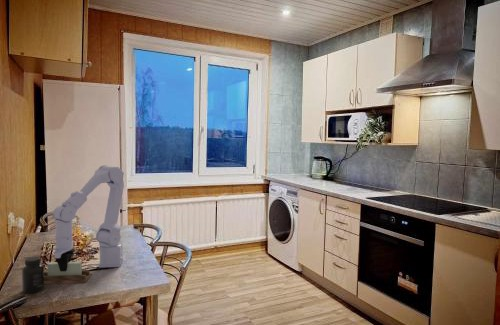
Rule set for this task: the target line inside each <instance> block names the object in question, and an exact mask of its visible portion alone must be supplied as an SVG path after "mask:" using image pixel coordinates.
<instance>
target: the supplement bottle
mask: <svg viewBox="0 0 500 325" xmlns="http://www.w3.org/2000/svg"><path fill="white" fill-rule="evenodd" d="M41 262H42V261H41V257H40V256H31V257H27V258H26V259H25V260H24V265H25V266H24V267H23V268H22V270H21V280H22V282H21V283H22V284H21V286H22V288H21V290H22V292H23V293H24V294H26V295H27V294H28V295H30V294H31V295H32V294H33V295H34V294H36V293H39V292H41V291H43V289H44V288H45V284H44V272H45V267H44V265H43V263H41Z"/></svg>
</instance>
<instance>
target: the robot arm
mask: <svg viewBox="0 0 500 325" xmlns="http://www.w3.org/2000/svg"><path fill="white" fill-rule="evenodd" d="M124 174H125V173H124V172H123V170H122V169H121V168H120V167H118V166H108V165H100V166H99V168H98V169H96V170H95V172H94V174H93V175H92V177H91V178H90V179H89V180H88V181H87V183H85V184H84V186H83V187H81V189H80V190H75V191H73V192H72V193H71V194H70V196H68V198H67V199H66V200H65V201H63V202H62V203H61V205H59V206H57V207H55V208H54V209H53V213H51V217H52V218H53V219H54V222H55V246H54V247H53V248H52V250H53V251H55V252H54V254H53V258H54V260H55V262H57V263H58V265H59V269H60V271H66V270H67V265H68V262H72V261H71V260H72V257H73V254H74V253H75V249H74V241H73V220H74V219H75V218H76V213H77V211H79V209H80V208H82V206H83V205H84V204H85V203H86V202H87V200H88V198H87V197H89V195H90V194H91V193H92V192H93V191H94V190H95V189H97V187H99V185H101V184H105V183H106V184H107V185H108V187H109V188H110V189H109V194H108V199H107V205H106V209H105V214H104V220H103V223H101V224H100V225H99V228H98V230H97V232H96V234H95V239H96V241H97V242H98V245H99V263H97V266H96V268H97V267H99V268H120V267H121V265H122V263H123V262H124V258H123V257H124V254H123V252H124V251H123V250H124V246H123V244H119V243H120V242H121V228H120V226H119V225H118V220H119V215H120V210H121V209H120V208H121V204H122V199H123V192H124V188H125V187H124V186H125V183H124V176H125V175H124Z"/></svg>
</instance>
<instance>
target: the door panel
mask: <svg viewBox="0 0 500 325" xmlns="http://www.w3.org/2000/svg"><path fill="white" fill-rule="evenodd" d="M82 263H83V262H82V261H70V262H68V265H67V270H66V271H60V269H59V265H58V263H57V261H53V262H52V261H49V262H48V263H47V265H46V267H47V269H46V270H47V271H46V272H47V273H48V276H61V275H82V271H83V269H82V268H83V266H82V265H83V264H82Z"/></svg>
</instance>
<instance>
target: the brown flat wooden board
mask: <svg viewBox="0 0 500 325" xmlns="http://www.w3.org/2000/svg"><path fill="white" fill-rule="evenodd" d="M92 275H93V274H92V272H90V270H89V269H87V270H82V275H61V276H48V273H47V271H44V285H65V284H66V285H67V284H85V283H87V282H88V280H89V279H90V277H91V276H92Z"/></svg>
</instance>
